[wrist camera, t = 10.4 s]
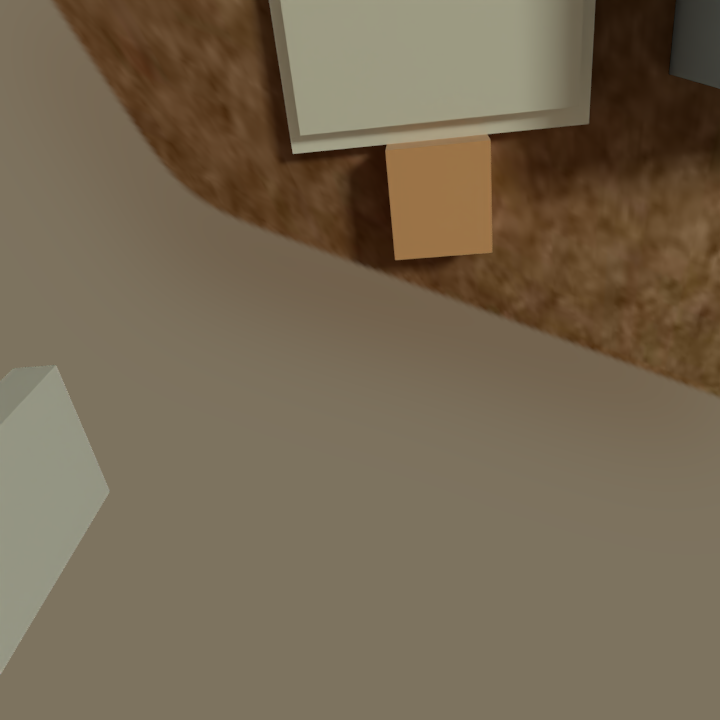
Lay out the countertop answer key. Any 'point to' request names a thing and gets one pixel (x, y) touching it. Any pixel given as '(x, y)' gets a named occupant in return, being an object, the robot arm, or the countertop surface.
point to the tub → (696, 41)
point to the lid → (432, 96)
